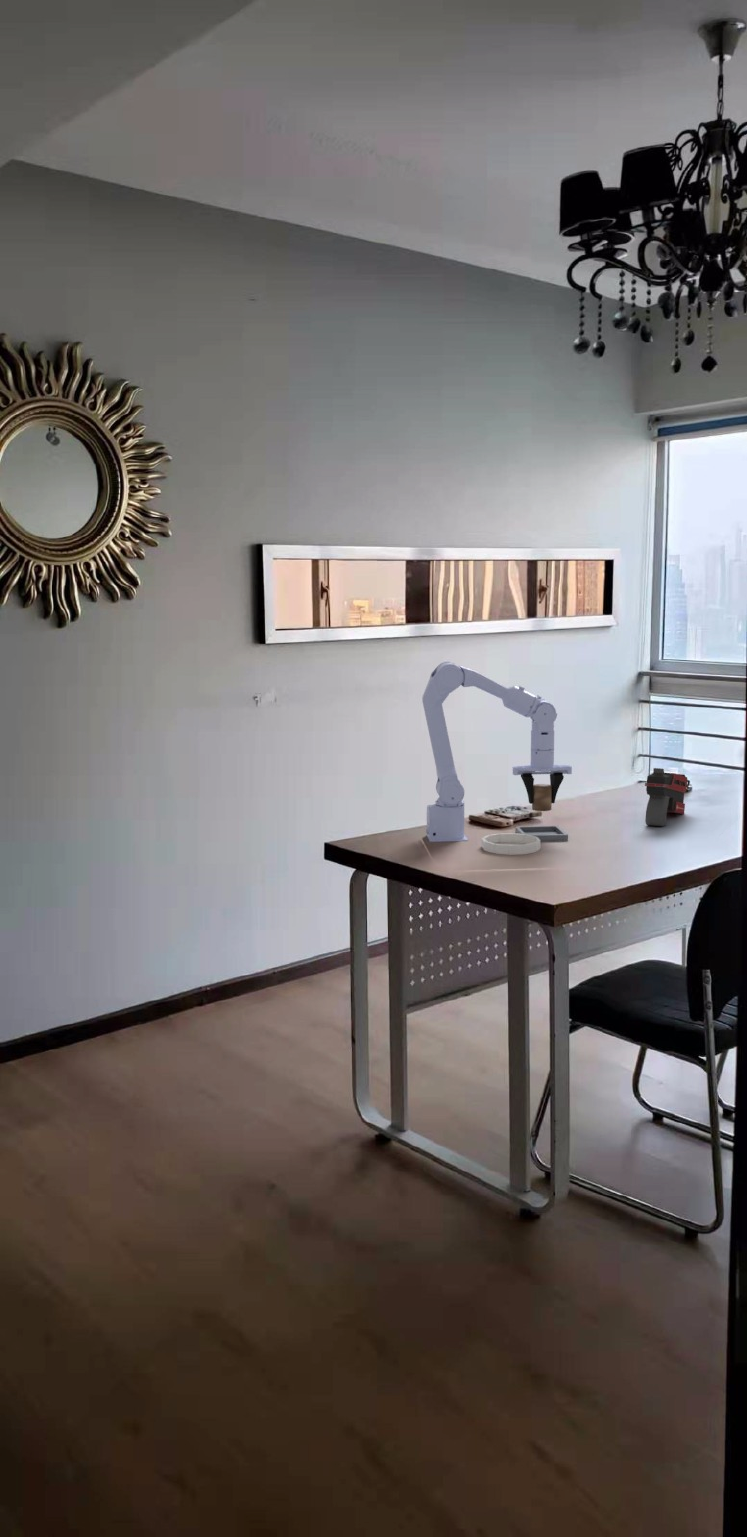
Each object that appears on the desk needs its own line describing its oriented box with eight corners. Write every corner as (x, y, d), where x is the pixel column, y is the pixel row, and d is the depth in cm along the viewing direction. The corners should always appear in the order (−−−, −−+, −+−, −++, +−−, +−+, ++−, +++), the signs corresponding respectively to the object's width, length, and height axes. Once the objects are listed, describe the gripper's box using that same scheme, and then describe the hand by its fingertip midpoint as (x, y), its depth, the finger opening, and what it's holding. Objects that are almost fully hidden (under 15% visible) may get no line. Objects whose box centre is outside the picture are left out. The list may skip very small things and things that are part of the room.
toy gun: (641, 824, 310) (646, 766, 311) (663, 827, 331) (668, 773, 332) (661, 826, 308) (666, 768, 309) (683, 829, 329) (687, 775, 329)
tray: (523, 843, 294) (524, 835, 294) (515, 833, 305) (515, 826, 305) (567, 841, 295) (568, 834, 295) (557, 832, 306) (557, 825, 305)
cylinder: (533, 811, 296) (534, 787, 295) (530, 807, 301) (531, 784, 300) (552, 811, 296) (553, 787, 295) (549, 807, 301) (550, 783, 300)
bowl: (487, 856, 280) (487, 846, 280) (478, 843, 294) (478, 833, 293) (544, 855, 281) (544, 844, 281) (532, 842, 294) (533, 832, 294)
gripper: (516, 751, 292) (516, 806, 294) (575, 750, 293) (574, 805, 295) (511, 747, 299) (510, 801, 301) (568, 746, 300) (567, 799, 302)
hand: (541, 802), depth 298 cm, fingers closed on cylinder, 5 cm apart
